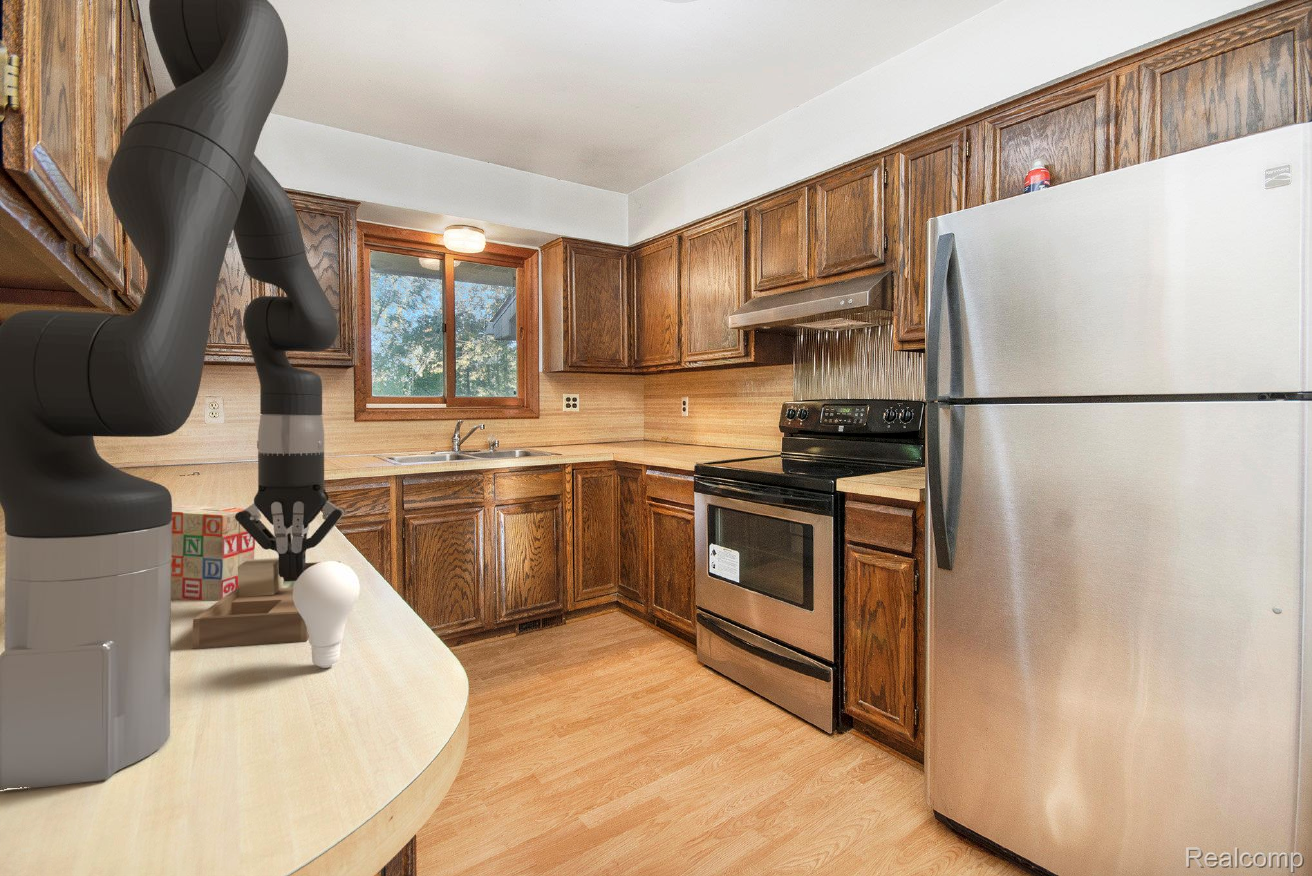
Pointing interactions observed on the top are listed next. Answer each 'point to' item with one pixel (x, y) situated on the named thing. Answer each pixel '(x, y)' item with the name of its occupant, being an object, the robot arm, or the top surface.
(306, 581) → the lightbulb
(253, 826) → the top surface
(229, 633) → the board
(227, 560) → the stack of blocks
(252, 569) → the beech block
